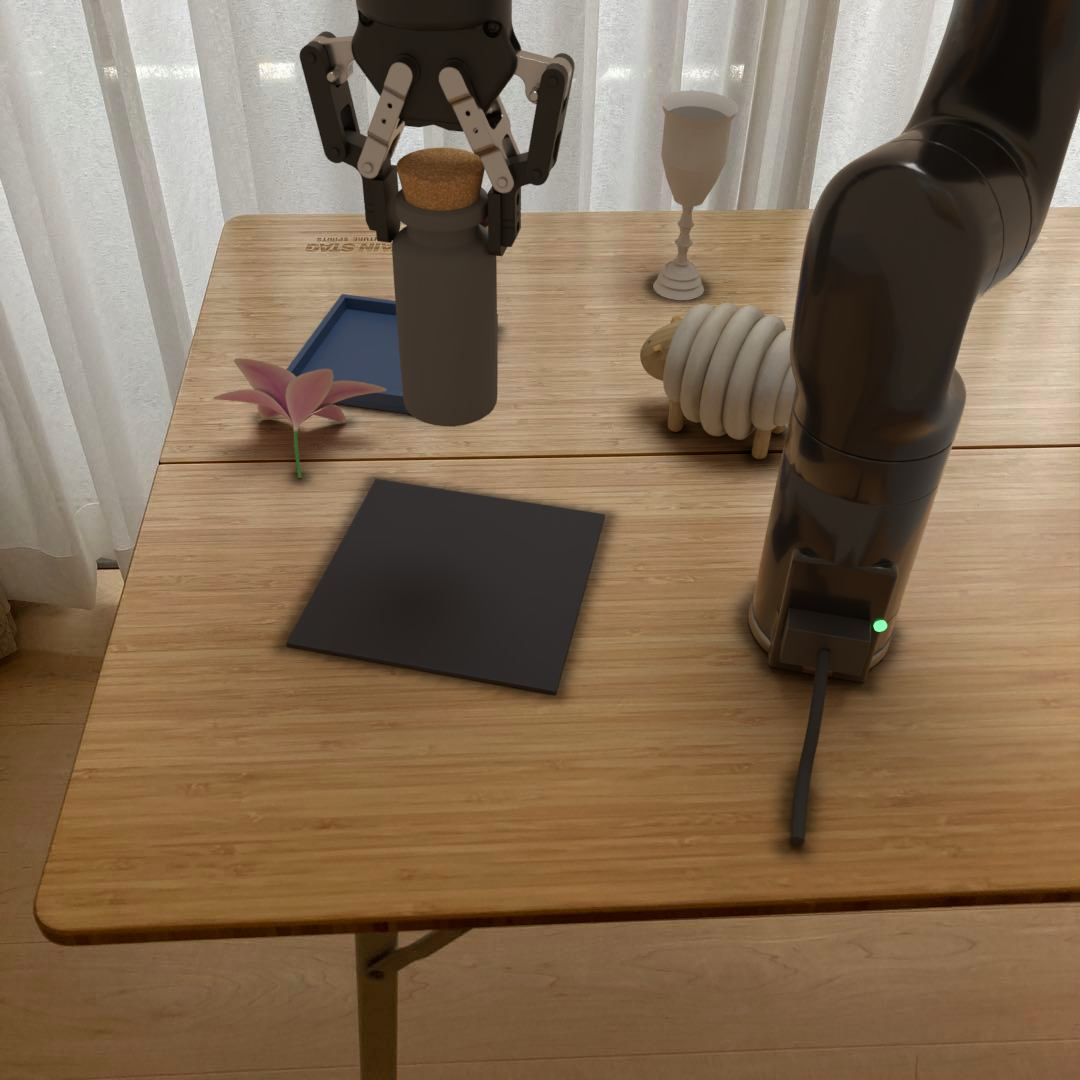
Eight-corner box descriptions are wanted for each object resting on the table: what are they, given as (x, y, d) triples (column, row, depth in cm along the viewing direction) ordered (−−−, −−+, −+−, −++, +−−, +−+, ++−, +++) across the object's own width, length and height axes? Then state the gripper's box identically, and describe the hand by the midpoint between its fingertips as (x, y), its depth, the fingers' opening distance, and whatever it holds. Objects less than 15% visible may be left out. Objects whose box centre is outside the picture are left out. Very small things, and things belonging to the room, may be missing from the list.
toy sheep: (656, 376, 98) (669, 261, 91) (846, 426, 93) (875, 307, 86) (611, 439, 91) (620, 319, 83) (814, 497, 86) (843, 374, 78)
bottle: (503, 378, 71) (502, 145, 61) (491, 431, 66) (487, 189, 56) (412, 372, 71) (397, 139, 61) (394, 424, 67) (374, 182, 57)
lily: (410, 459, 90) (394, 339, 88) (323, 486, 80) (303, 351, 78) (291, 464, 95) (274, 351, 93) (195, 490, 85) (174, 364, 83)
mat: (555, 694, 70) (556, 691, 70) (286, 646, 73) (285, 643, 72) (604, 517, 83) (605, 514, 83) (375, 481, 86) (375, 478, 86)
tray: (453, 420, 92) (453, 403, 91) (281, 395, 95) (279, 378, 93) (498, 329, 104) (497, 313, 102) (343, 309, 106) (341, 293, 105)
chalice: (630, 277, 112) (646, 96, 100) (689, 265, 114) (710, 86, 102) (667, 311, 107) (687, 124, 95) (727, 297, 109) (754, 113, 97)
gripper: (249, -92, 49) (297, 258, 60) (567, -70, 47) (556, 290, 58) (311, -125, 55) (345, 202, 66) (599, -106, 53) (583, 229, 64)
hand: (444, 242), depth 62 cm, fingers closed on bottle, 5 cm apart
